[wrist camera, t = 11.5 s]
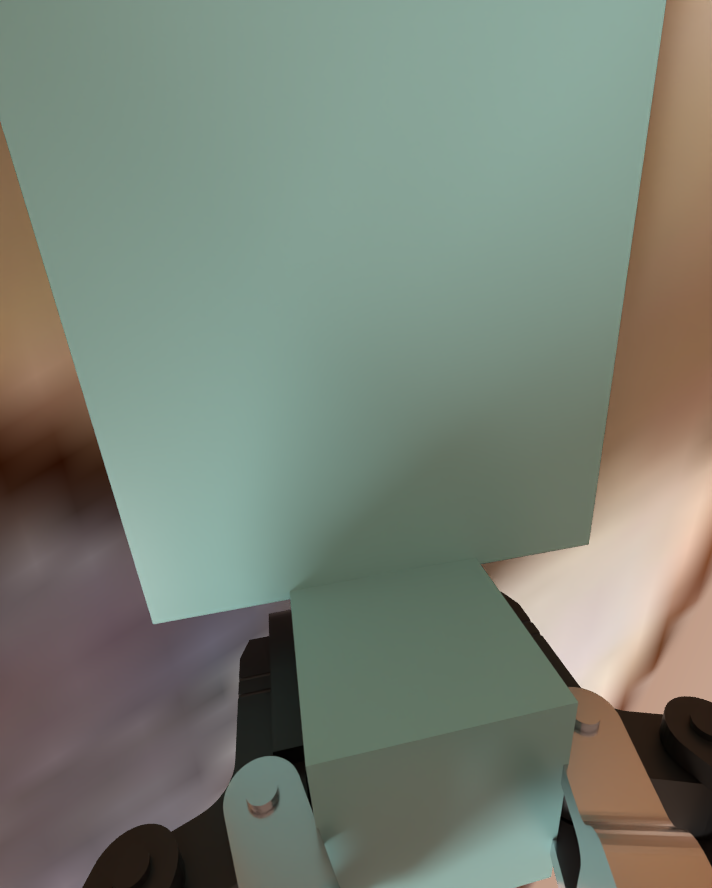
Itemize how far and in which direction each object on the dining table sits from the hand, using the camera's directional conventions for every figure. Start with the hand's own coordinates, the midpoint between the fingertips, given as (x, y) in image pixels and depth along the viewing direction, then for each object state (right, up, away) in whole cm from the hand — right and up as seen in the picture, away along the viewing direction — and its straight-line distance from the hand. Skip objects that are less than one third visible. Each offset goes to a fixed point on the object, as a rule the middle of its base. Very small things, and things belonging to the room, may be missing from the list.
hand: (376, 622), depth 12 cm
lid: (0, +6, -3) cm, 6 cm away
